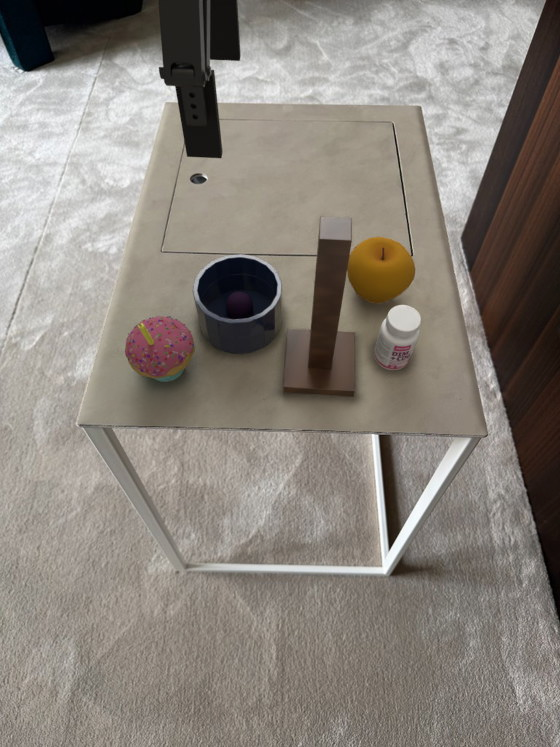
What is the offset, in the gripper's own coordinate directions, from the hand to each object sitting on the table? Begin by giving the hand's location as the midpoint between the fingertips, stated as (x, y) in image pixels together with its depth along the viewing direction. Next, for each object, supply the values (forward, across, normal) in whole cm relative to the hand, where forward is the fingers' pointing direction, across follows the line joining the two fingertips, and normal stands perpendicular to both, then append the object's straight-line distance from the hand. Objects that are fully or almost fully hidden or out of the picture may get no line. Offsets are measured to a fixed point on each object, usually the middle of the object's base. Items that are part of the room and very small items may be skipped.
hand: (216, 103), depth 46 cm
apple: (+33, +8, -18) cm, 38 cm away
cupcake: (+33, -6, +9) cm, 35 cm away
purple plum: (+32, +2, 0) cm, 32 cm away
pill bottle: (+33, -3, -20) cm, 39 cm away
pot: (+33, +2, 0) cm, 33 cm away
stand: (+33, -5, -11) cm, 35 cm away
